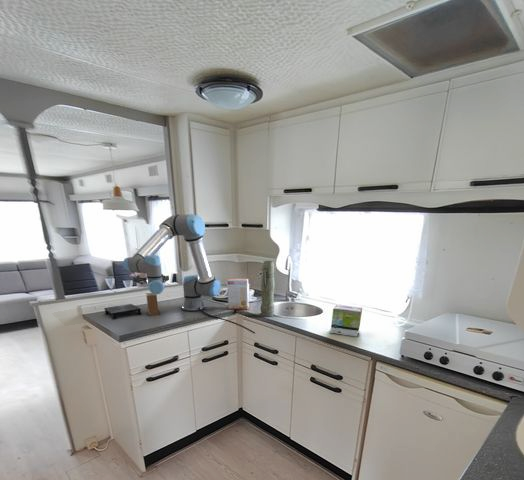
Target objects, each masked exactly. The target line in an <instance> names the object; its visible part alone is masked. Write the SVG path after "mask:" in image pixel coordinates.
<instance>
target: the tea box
mask: <svg viewBox="0 0 524 480" xmlns="http://www.w3.org/2000/svg"><path fill="white" fill-rule="evenodd" d="M362 313H363V307H361V306H360V307H359V306H352V305H342V304H335V306H334V307H333V308H332V314H331V325H330V334H337V335H344V336H349V337H358V334H359V332H360V327H361V319H362Z"/></svg>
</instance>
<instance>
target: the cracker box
mask: <svg viewBox="0 0 524 480" xmlns="http://www.w3.org/2000/svg"><path fill="white" fill-rule="evenodd" d="M249 283H250V282H249V278H228V279H227V305H228V307H227V309H228V310H243V311H245V310H246V311H247V310H249V308H250V298H249V297H250V293H249V291H250V290H249Z"/></svg>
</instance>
